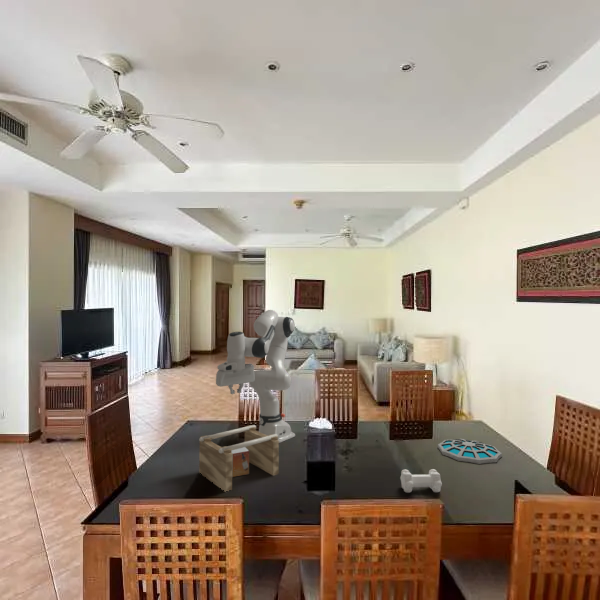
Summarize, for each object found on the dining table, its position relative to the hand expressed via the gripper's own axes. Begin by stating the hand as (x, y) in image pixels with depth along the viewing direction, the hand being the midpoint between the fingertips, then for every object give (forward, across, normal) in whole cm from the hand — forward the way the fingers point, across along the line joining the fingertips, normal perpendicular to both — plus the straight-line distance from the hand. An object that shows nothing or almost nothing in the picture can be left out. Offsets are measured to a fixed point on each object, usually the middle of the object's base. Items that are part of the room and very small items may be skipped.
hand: (235, 393), depth 188 cm
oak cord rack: (+33, +6, +13) cm, 36 cm away
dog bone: (+34, -43, +75) cm, 93 cm away
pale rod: (+18, +6, +4) cm, 19 cm away
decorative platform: (+34, -99, +68) cm, 125 cm away
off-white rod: (+18, +6, +22) cm, 29 cm away
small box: (+33, +6, +13) cm, 36 cm away
